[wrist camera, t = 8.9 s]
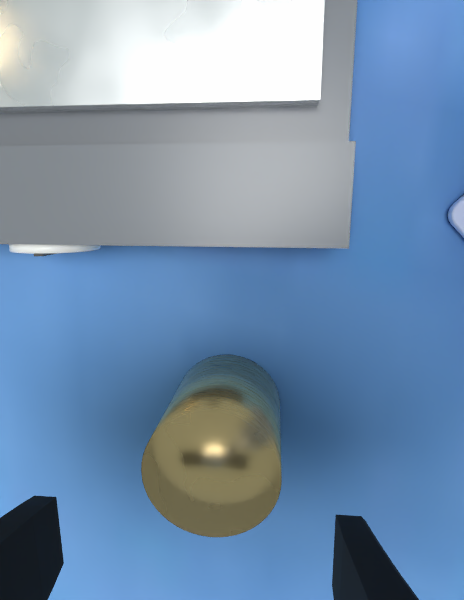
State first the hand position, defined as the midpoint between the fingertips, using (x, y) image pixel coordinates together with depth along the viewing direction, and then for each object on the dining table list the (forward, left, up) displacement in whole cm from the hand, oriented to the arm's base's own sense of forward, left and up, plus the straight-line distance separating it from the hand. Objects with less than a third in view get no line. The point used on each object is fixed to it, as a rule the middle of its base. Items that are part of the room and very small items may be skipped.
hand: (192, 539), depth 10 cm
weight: (0, 0, -8) cm, 8 cm away
